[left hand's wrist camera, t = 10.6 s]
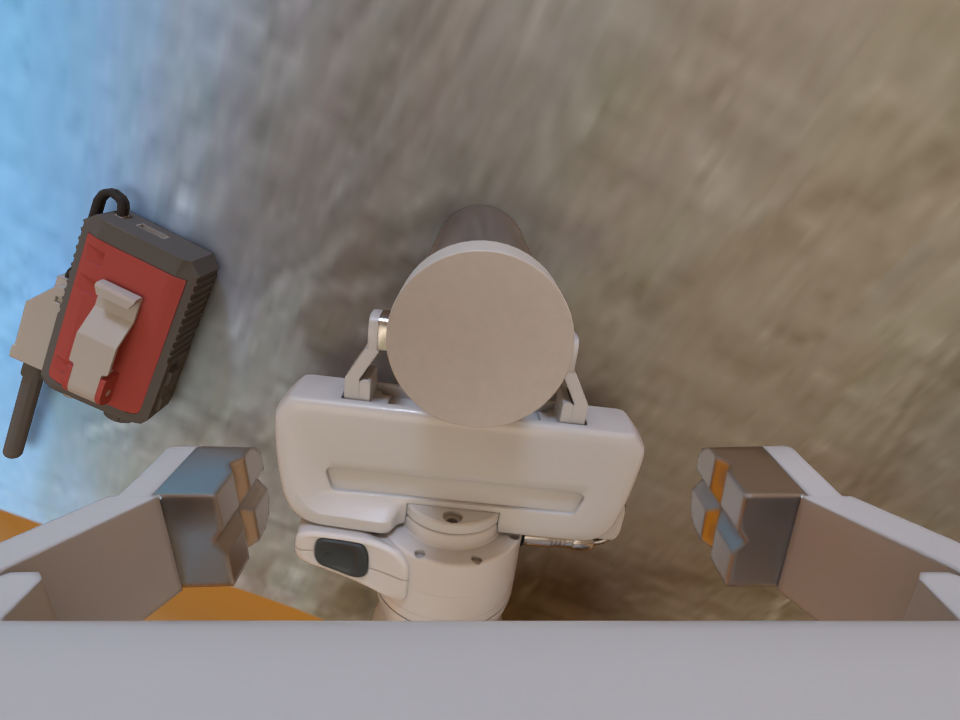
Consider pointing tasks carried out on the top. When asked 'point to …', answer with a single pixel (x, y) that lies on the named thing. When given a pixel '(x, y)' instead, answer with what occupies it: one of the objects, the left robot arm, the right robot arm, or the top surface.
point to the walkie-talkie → (113, 320)
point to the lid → (480, 335)
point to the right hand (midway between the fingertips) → (475, 323)
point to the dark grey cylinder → (480, 228)
